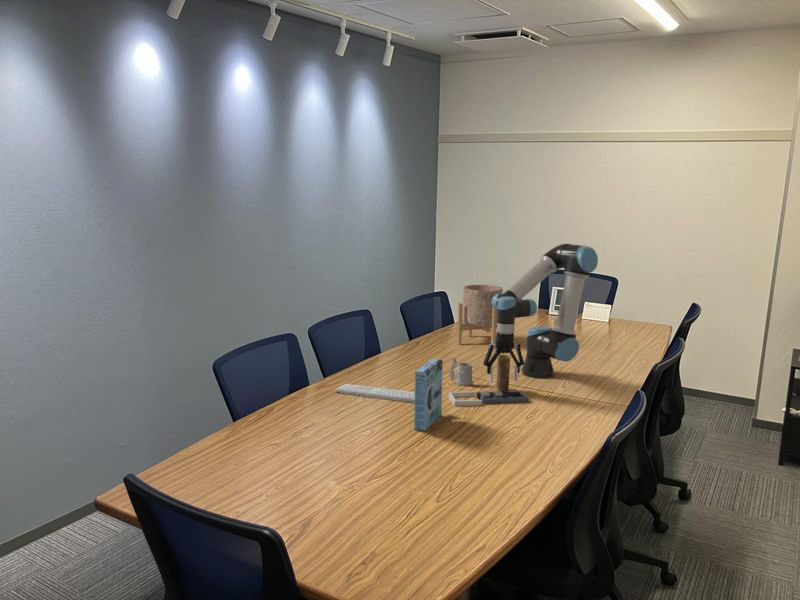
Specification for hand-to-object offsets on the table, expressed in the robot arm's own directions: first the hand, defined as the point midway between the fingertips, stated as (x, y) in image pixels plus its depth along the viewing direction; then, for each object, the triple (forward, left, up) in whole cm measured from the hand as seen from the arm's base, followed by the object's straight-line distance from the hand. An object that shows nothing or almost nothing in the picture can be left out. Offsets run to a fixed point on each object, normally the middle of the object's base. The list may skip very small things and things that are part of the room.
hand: (502, 380), depth 296 cm
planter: (-15, -89, -6) cm, 90 cm away
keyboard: (+52, -2, -6) cm, 52 cm away
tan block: (0, 0, -6) cm, 6 cm away
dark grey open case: (+4, +12, -5) cm, 14 cm away
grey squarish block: (+11, +12, -5) cm, 17 cm away
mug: (+16, -13, -6) cm, 21 cm away
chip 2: (+6, +12, -4) cm, 14 cm away
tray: (+20, +12, -5) cm, 24 cm away
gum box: (+40, +32, -6) cm, 52 cm away
